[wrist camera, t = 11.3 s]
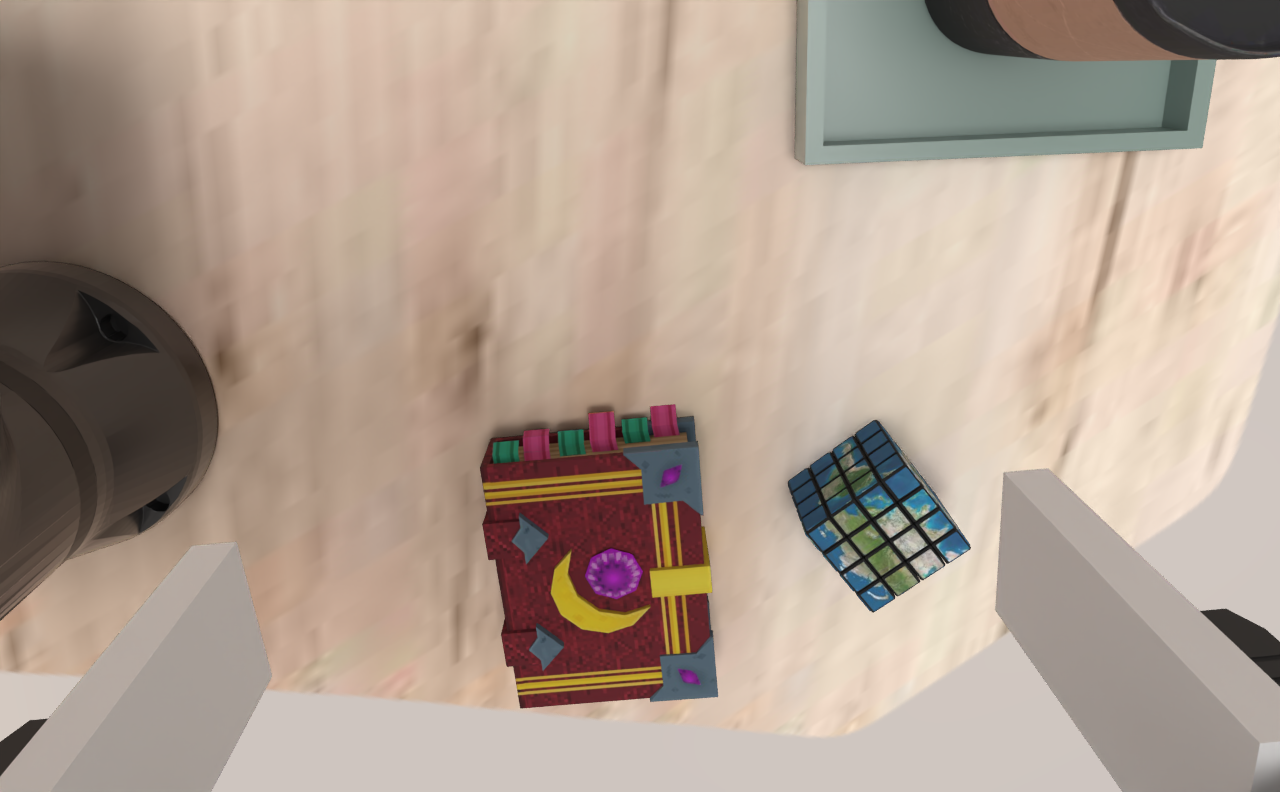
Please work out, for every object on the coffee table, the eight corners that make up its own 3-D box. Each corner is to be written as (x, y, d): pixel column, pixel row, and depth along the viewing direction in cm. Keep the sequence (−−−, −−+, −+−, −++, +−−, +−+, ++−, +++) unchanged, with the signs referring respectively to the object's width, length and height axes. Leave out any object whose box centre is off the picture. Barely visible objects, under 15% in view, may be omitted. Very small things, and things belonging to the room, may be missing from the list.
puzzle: (876, 417, 50) (906, 463, 44) (936, 495, 52) (973, 549, 46) (785, 481, 51) (804, 534, 46) (847, 556, 53) (872, 615, 47)
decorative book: (524, 663, 56) (514, 719, 51) (483, 412, 50) (467, 450, 45) (713, 648, 55) (721, 702, 51) (693, 393, 50) (699, 429, 45)
